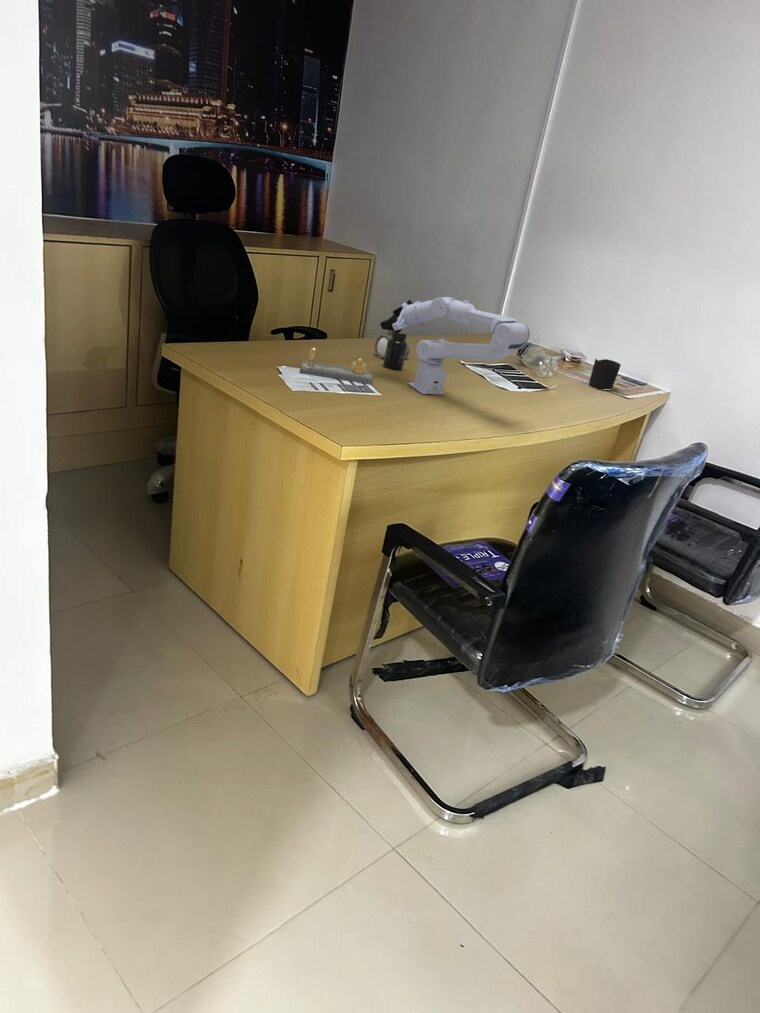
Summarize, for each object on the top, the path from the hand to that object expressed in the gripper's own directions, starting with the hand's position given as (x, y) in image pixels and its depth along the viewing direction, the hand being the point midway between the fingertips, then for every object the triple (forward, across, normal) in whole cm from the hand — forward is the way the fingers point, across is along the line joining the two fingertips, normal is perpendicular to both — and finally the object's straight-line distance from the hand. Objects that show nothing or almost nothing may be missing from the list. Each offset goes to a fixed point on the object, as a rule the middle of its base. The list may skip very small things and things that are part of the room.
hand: (388, 320), depth 231 cm
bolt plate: (+6, +25, +4) cm, 26 cm away
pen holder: (-30, -56, +66) cm, 92 cm away
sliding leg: (+1, +22, +6) cm, 23 cm away
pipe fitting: (+16, -10, +18) cm, 26 cm away
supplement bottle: (+7, 0, +17) cm, 18 cm away
